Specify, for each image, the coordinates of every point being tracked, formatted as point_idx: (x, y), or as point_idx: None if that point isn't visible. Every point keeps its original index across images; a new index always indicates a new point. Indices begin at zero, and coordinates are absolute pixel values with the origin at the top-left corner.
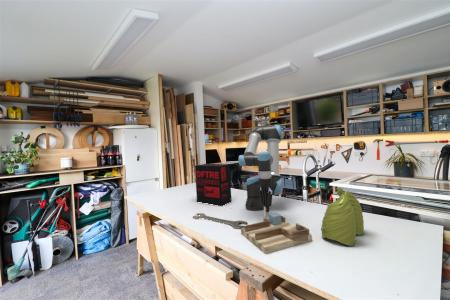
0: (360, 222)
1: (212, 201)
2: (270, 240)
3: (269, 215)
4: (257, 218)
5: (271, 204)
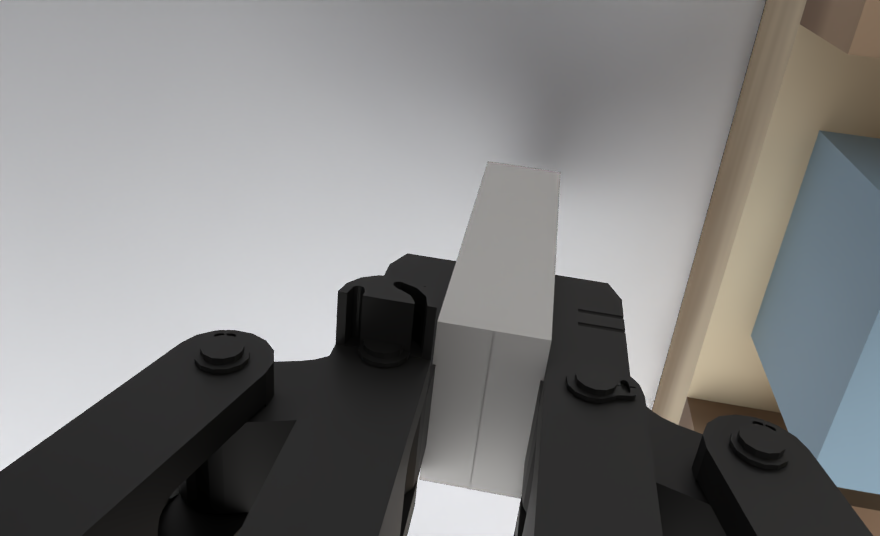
0: None
1: None
2: None
3: (849, 474)
4: (135, 114)
5: (830, 485)
